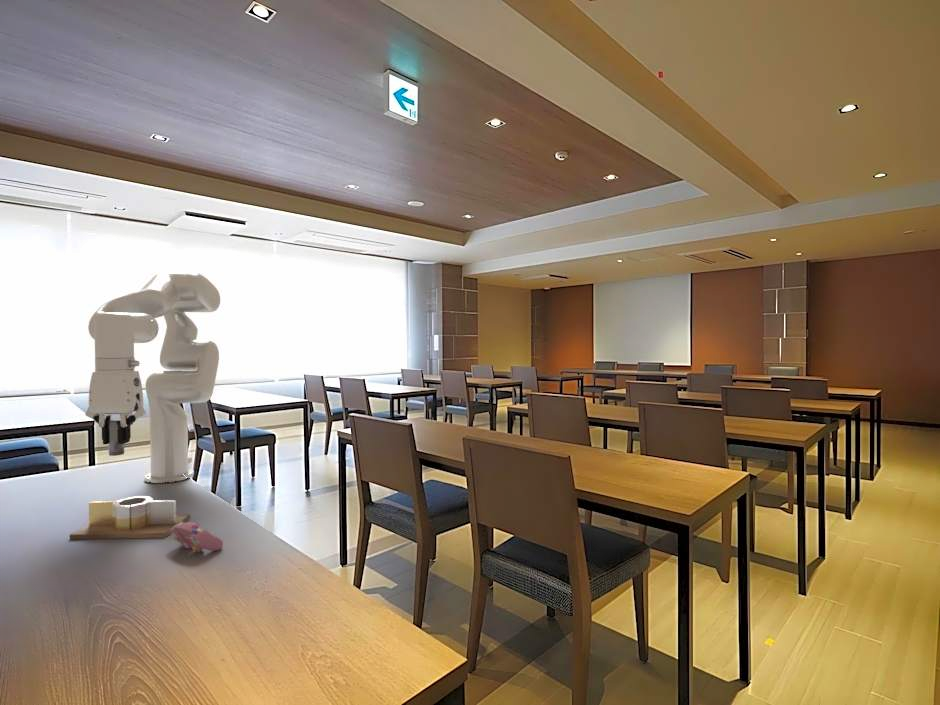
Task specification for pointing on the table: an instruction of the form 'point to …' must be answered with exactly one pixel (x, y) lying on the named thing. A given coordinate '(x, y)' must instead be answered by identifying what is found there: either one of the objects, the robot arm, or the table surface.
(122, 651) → the table surface
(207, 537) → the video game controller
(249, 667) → the table surface
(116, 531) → the mounting board
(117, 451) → the hinge pin
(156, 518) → the hinge
